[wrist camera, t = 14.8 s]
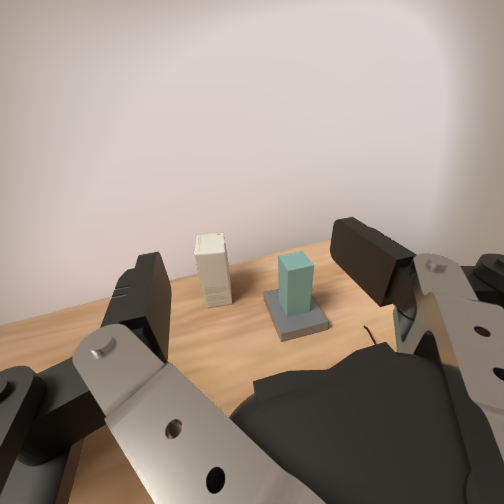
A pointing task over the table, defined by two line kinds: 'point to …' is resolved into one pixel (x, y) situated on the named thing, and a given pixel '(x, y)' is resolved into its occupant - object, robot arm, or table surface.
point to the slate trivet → (294, 318)
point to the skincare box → (213, 269)
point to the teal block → (295, 283)
